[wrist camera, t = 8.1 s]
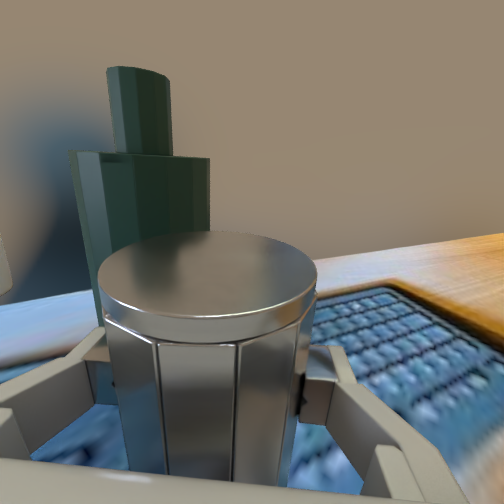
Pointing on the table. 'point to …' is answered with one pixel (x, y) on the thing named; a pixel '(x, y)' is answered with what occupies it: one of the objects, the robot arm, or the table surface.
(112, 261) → the cap
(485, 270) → the table surface
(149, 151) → the bottle
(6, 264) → the mug
